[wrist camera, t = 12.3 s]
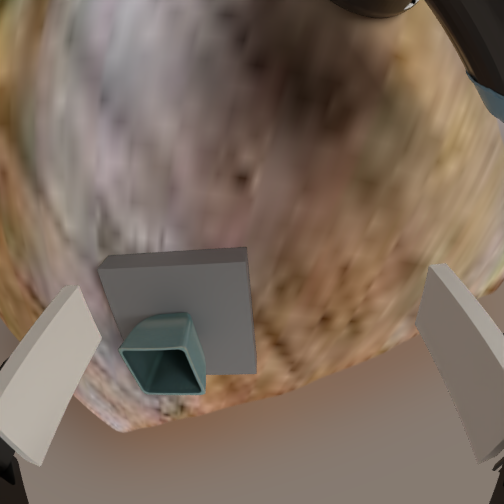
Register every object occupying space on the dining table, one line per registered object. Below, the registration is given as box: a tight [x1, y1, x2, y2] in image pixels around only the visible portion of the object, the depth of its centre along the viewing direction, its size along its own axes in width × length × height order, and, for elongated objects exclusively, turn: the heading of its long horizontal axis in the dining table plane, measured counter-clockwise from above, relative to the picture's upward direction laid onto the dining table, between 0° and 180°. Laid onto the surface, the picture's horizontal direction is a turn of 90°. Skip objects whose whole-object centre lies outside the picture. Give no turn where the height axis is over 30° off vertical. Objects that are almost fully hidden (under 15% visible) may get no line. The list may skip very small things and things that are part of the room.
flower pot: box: [118, 312, 206, 395], centre depth 38 cm, size 9×9×9 cm
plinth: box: [97, 247, 257, 375], centre depth 44 cm, size 20×20×4 cm
